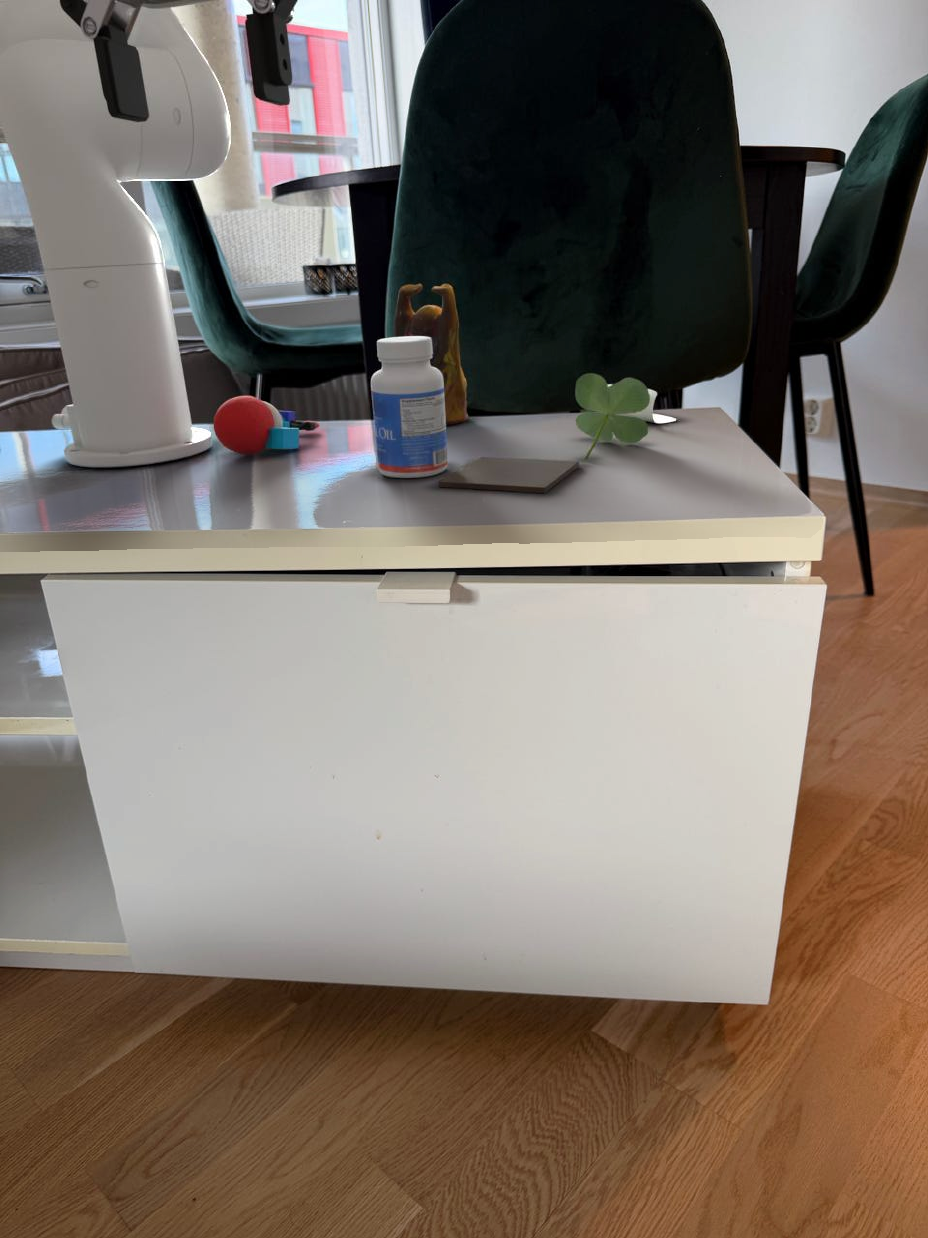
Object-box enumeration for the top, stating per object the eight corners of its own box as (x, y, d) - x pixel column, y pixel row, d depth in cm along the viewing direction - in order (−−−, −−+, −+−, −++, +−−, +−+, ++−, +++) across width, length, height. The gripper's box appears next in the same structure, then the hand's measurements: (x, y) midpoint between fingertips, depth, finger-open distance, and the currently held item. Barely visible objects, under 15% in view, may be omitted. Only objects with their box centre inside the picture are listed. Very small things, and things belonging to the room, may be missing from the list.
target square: (438, 486, 63) (438, 481, 62) (481, 461, 69) (481, 456, 69) (545, 493, 60) (544, 487, 59) (579, 466, 66) (579, 461, 66)
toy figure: (254, 446, 87) (185, 453, 73) (254, 395, 86) (184, 392, 72) (328, 451, 86) (273, 459, 72) (329, 400, 85) (273, 397, 71)
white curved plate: (624, 409, 88) (625, 379, 86) (682, 419, 81) (683, 386, 80) (595, 415, 86) (595, 383, 85) (652, 425, 80) (653, 391, 78)
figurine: (472, 413, 90) (464, 279, 85) (463, 426, 83) (454, 282, 79) (411, 416, 90) (400, 283, 86) (398, 428, 84) (385, 286, 79)
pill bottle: (370, 468, 69) (358, 338, 65) (435, 459, 71) (427, 333, 67) (389, 483, 64) (378, 344, 61) (458, 473, 66) (451, 338, 62)
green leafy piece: (593, 510, 73) (618, 454, 76) (649, 465, 66) (675, 406, 69) (523, 460, 71) (551, 406, 74) (573, 410, 64) (602, 352, 67)
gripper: (327, -268, 46) (359, 104, 53) (55, -202, 51) (116, 131, 58) (258, -352, 40) (304, 85, 46) (-47, -267, 45) (34, 117, 51)
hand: (199, 110), depth 52 cm, fingers open, 9 cm apart
